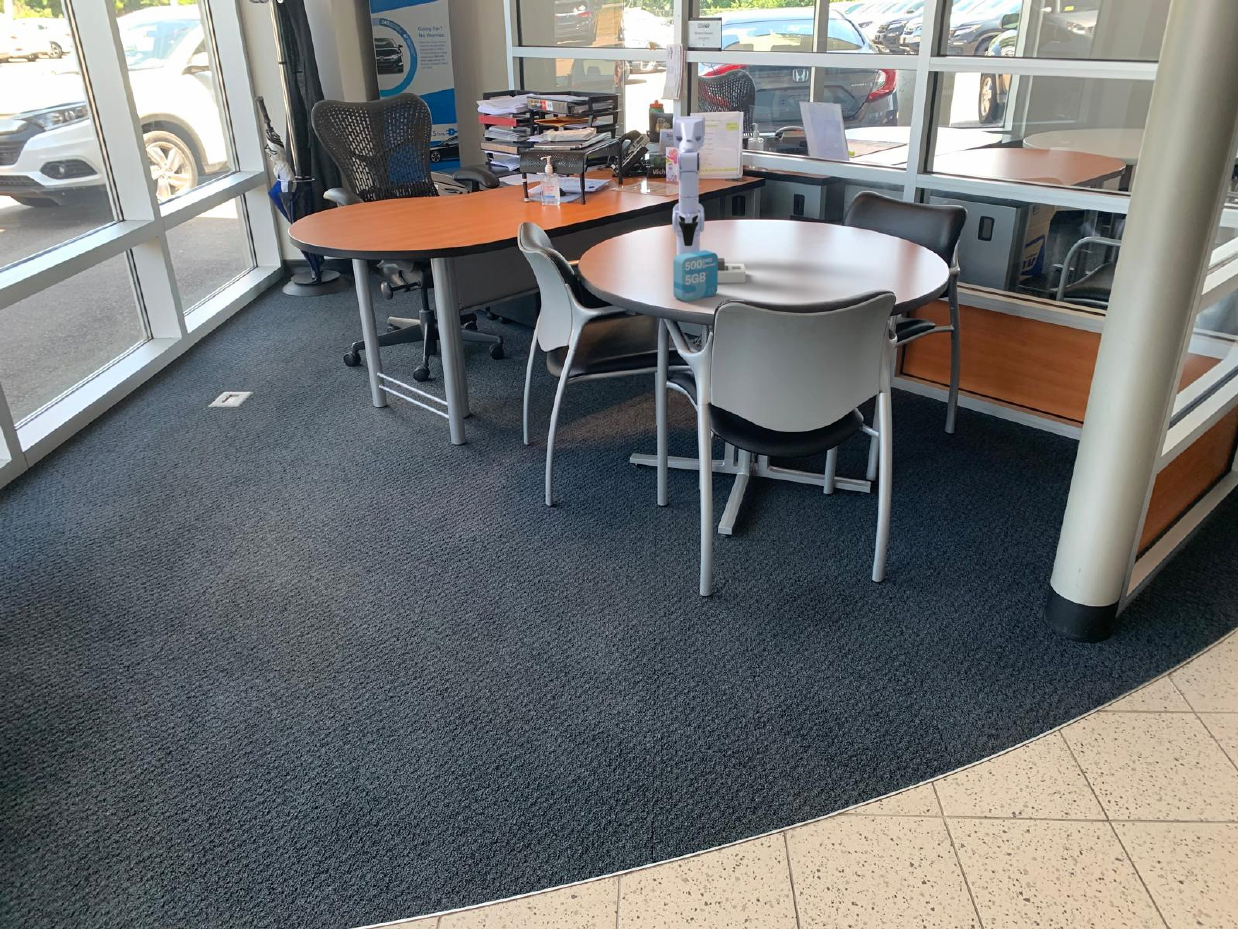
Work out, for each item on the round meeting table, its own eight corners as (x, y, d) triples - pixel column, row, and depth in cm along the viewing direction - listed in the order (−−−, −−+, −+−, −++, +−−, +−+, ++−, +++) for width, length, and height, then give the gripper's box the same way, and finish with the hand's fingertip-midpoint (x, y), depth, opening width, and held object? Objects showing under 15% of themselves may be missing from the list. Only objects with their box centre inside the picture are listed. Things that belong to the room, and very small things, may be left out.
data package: (682, 302, 248) (682, 258, 242) (672, 298, 251) (672, 255, 246) (717, 295, 253) (718, 252, 248) (707, 291, 256) (708, 248, 251)
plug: (710, 276, 270) (710, 258, 268) (723, 276, 270) (724, 258, 268) (710, 280, 267) (710, 261, 264) (724, 280, 267) (724, 261, 264)
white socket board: (683, 273, 274) (683, 263, 272) (743, 273, 272) (743, 262, 271) (683, 283, 265) (683, 272, 263) (745, 282, 263) (745, 271, 262)
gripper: (675, 191, 270) (675, 237, 276) (674, 200, 257) (674, 248, 263) (698, 190, 269) (698, 236, 275) (699, 200, 256) (698, 248, 263)
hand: (688, 242), depth 269 cm, fingers open, 7 cm apart
